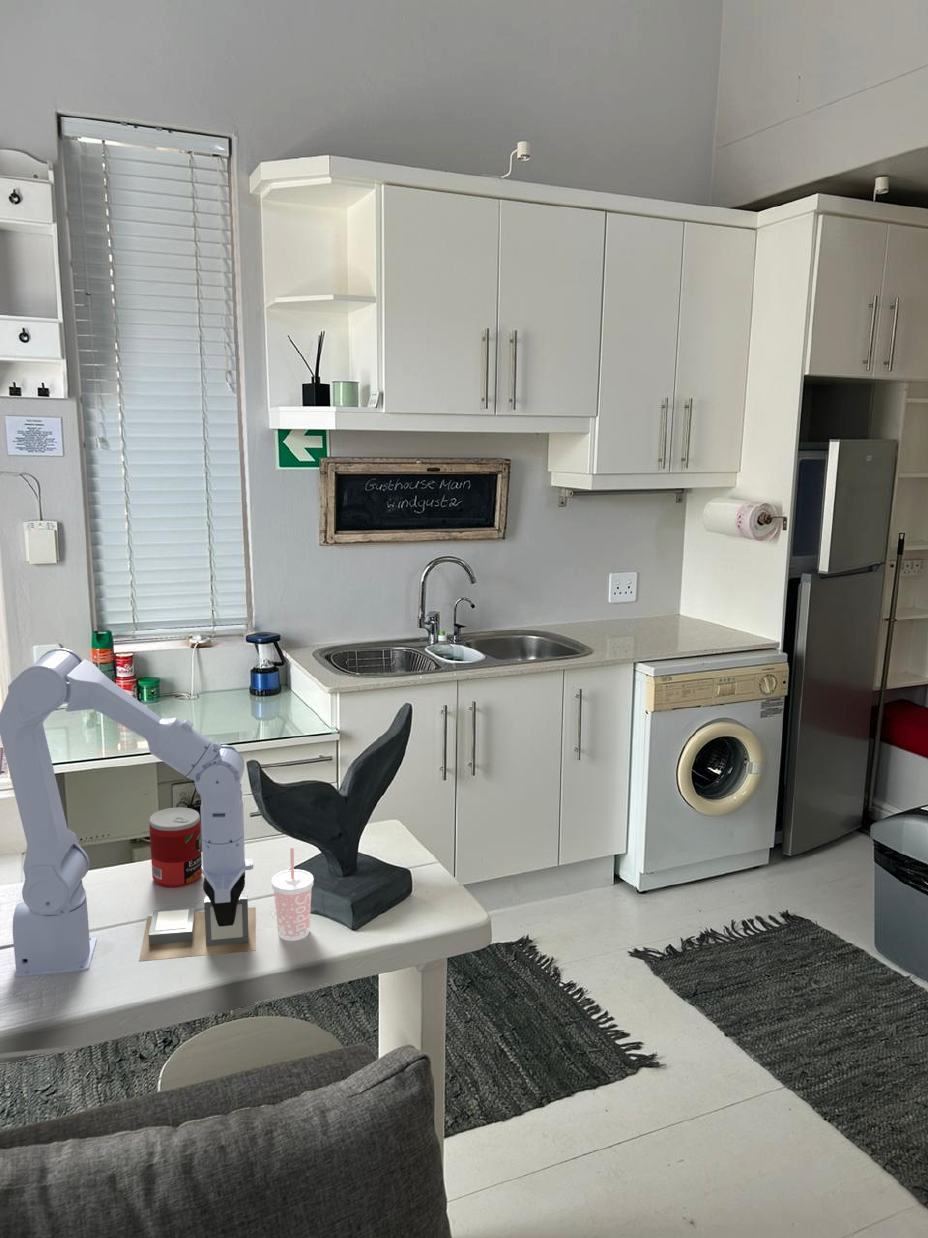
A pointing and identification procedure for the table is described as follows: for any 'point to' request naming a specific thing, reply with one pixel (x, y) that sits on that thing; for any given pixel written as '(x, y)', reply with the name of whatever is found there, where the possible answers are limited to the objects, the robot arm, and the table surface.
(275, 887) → the beverage cup
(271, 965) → the table surface
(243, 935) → the gray framed tile
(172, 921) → the grey framed square tile
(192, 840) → the canned food
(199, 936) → the cork mat
